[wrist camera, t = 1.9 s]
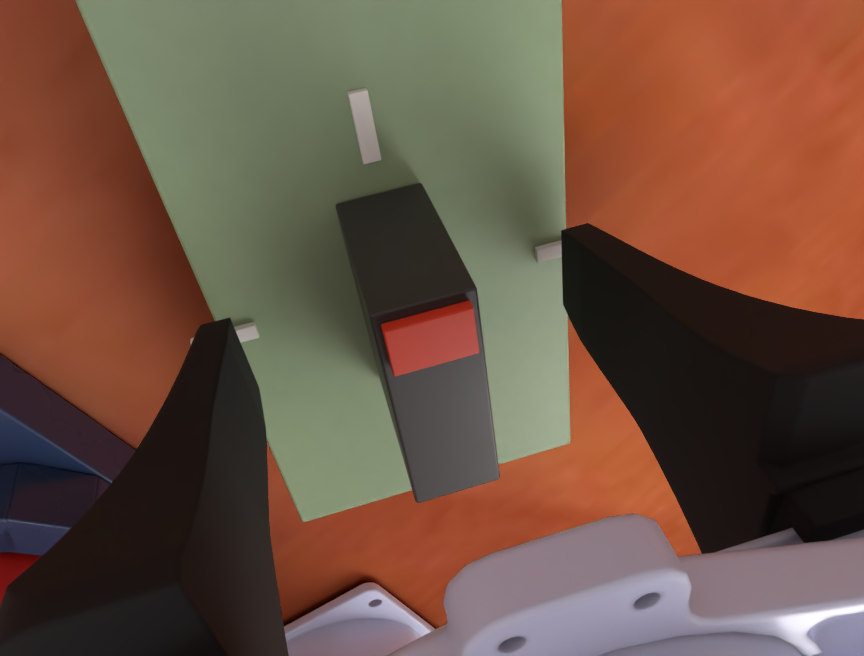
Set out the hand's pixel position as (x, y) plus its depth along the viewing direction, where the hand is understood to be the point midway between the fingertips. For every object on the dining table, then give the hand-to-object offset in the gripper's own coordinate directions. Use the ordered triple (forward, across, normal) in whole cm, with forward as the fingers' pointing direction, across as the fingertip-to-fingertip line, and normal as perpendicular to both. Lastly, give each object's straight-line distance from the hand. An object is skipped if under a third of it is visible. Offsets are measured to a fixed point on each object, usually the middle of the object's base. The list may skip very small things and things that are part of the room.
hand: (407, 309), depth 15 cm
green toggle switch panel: (+4, 0, 0) cm, 4 cm away
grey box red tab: (+1, 0, 0) cm, 1 cm away
